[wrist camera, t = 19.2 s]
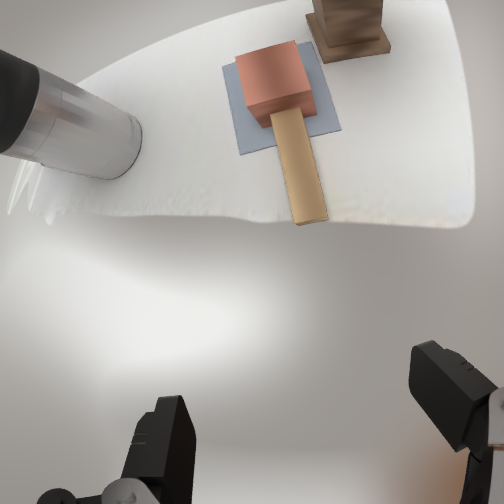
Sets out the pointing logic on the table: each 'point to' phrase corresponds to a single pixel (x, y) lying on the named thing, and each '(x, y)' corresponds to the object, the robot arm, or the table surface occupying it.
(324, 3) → the wooden pedestal column
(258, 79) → the mallet
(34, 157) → the robot arm
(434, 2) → the table surface
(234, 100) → the pad
